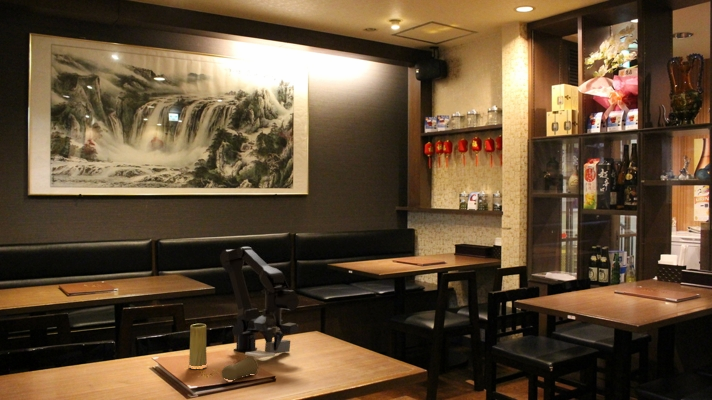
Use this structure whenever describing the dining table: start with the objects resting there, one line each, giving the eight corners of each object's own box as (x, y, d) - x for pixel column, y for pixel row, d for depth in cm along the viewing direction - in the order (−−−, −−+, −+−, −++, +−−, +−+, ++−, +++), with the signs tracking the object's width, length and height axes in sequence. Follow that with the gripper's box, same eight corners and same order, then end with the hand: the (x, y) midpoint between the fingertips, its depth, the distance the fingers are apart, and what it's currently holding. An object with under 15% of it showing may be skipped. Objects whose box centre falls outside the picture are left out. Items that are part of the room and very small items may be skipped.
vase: (184, 368, 200) (185, 326, 200) (196, 364, 205) (196, 322, 205) (199, 371, 197) (200, 328, 197) (210, 366, 203) (211, 324, 203)
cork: (254, 378, 193) (228, 389, 184) (243, 367, 196) (216, 376, 188) (260, 364, 191) (234, 373, 183) (248, 352, 194) (222, 361, 186)
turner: (245, 354, 207) (246, 343, 207) (279, 349, 224) (280, 338, 225) (261, 357, 203) (262, 345, 204) (294, 352, 221) (295, 341, 221)
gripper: (238, 307, 212) (237, 351, 212) (280, 313, 203) (280, 358, 203) (258, 302, 222) (257, 344, 222) (299, 307, 213) (298, 351, 213)
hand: (272, 349), depth 215 cm, fingers closed on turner, 2 cm apart
